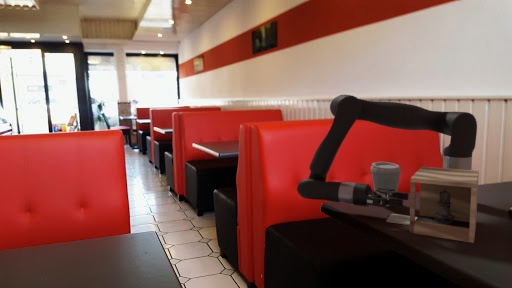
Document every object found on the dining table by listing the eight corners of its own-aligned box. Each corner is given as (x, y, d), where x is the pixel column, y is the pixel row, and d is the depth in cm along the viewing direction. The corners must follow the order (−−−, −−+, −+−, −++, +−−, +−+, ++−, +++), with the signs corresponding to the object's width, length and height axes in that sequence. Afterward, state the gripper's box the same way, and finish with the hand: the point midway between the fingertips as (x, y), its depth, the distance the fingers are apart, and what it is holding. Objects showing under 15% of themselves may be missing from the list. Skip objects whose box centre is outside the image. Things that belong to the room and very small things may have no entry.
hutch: (419, 214, 124) (421, 166, 122) (476, 221, 116) (478, 170, 114) (409, 232, 108) (410, 177, 106) (473, 242, 99) (476, 183, 98)
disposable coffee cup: (406, 204, 136) (407, 163, 134) (388, 209, 130) (389, 167, 128) (382, 198, 145) (382, 160, 143) (363, 203, 139) (364, 163, 137)
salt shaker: (457, 231, 108) (459, 190, 107) (435, 230, 110) (437, 190, 108) (451, 224, 114) (452, 186, 113) (430, 223, 115) (431, 185, 114)
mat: (391, 214, 125) (391, 213, 125) (417, 218, 120) (417, 217, 120) (386, 221, 118) (386, 220, 118) (413, 225, 114) (413, 224, 114)
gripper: (348, 187, 119) (401, 193, 110) (361, 178, 131) (410, 183, 122) (347, 210, 120) (401, 217, 111) (361, 199, 132) (409, 205, 123)
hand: (405, 199), depth 117 cm, fingers open, 8 cm apart
